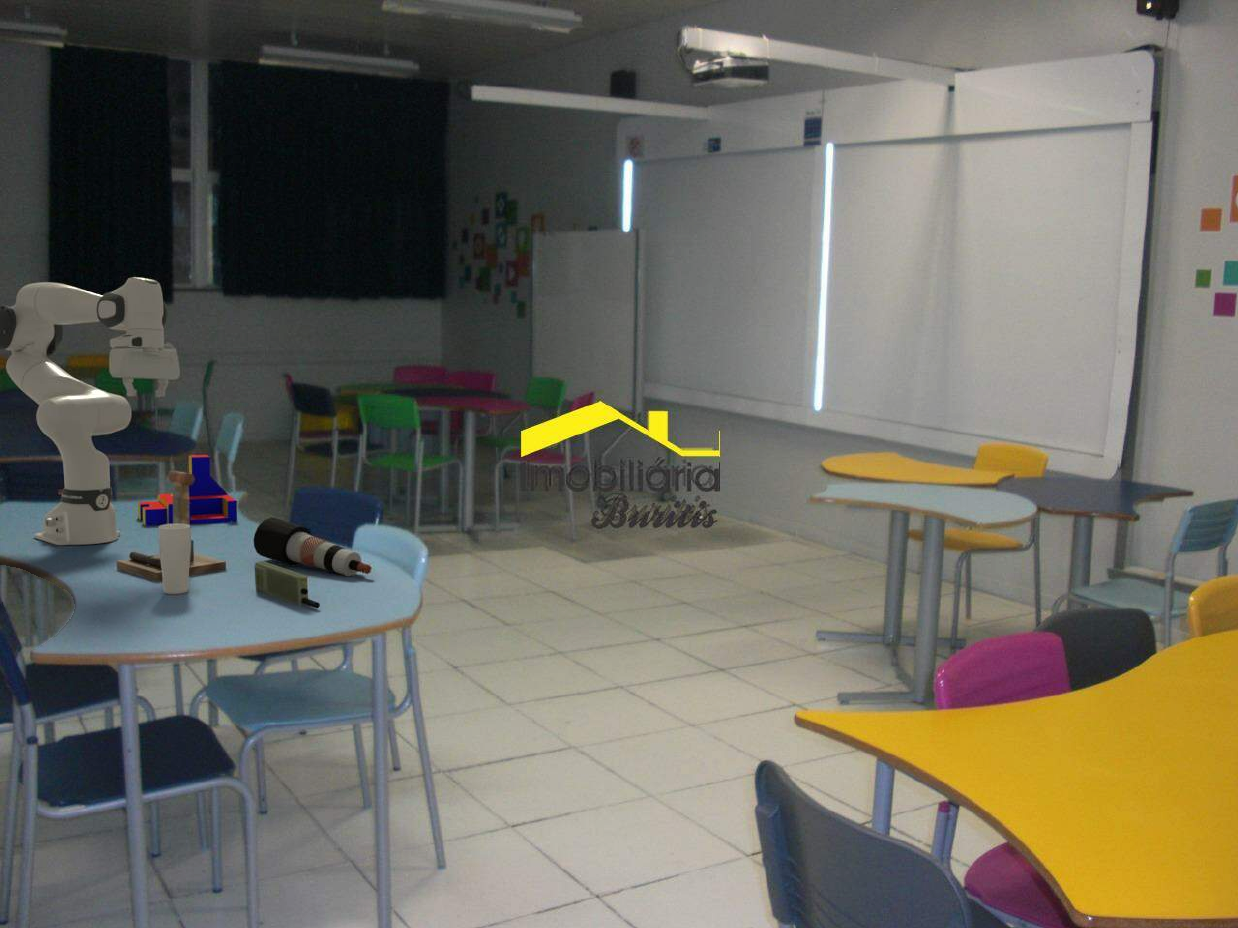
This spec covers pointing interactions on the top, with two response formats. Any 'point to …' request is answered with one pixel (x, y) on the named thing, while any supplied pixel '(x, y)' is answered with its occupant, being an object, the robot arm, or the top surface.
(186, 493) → the cutter lever
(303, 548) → the cable
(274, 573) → the handheld radio
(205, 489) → the building blocks toy
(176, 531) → the drinking glass
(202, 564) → the cutter board
